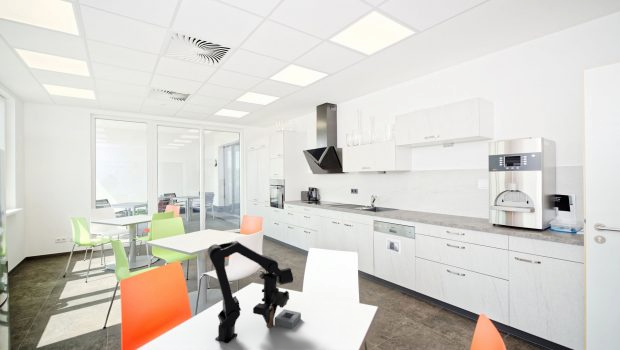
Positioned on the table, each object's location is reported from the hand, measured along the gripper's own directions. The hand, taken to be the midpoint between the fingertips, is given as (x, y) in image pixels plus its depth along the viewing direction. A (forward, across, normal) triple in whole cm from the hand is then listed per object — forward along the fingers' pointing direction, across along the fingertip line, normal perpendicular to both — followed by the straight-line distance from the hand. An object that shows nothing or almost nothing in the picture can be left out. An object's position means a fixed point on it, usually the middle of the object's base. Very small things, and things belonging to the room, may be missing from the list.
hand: (270, 321), depth 124 cm
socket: (+2, +6, -6) cm, 9 cm away
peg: (+2, 0, 0) cm, 2 cm away
